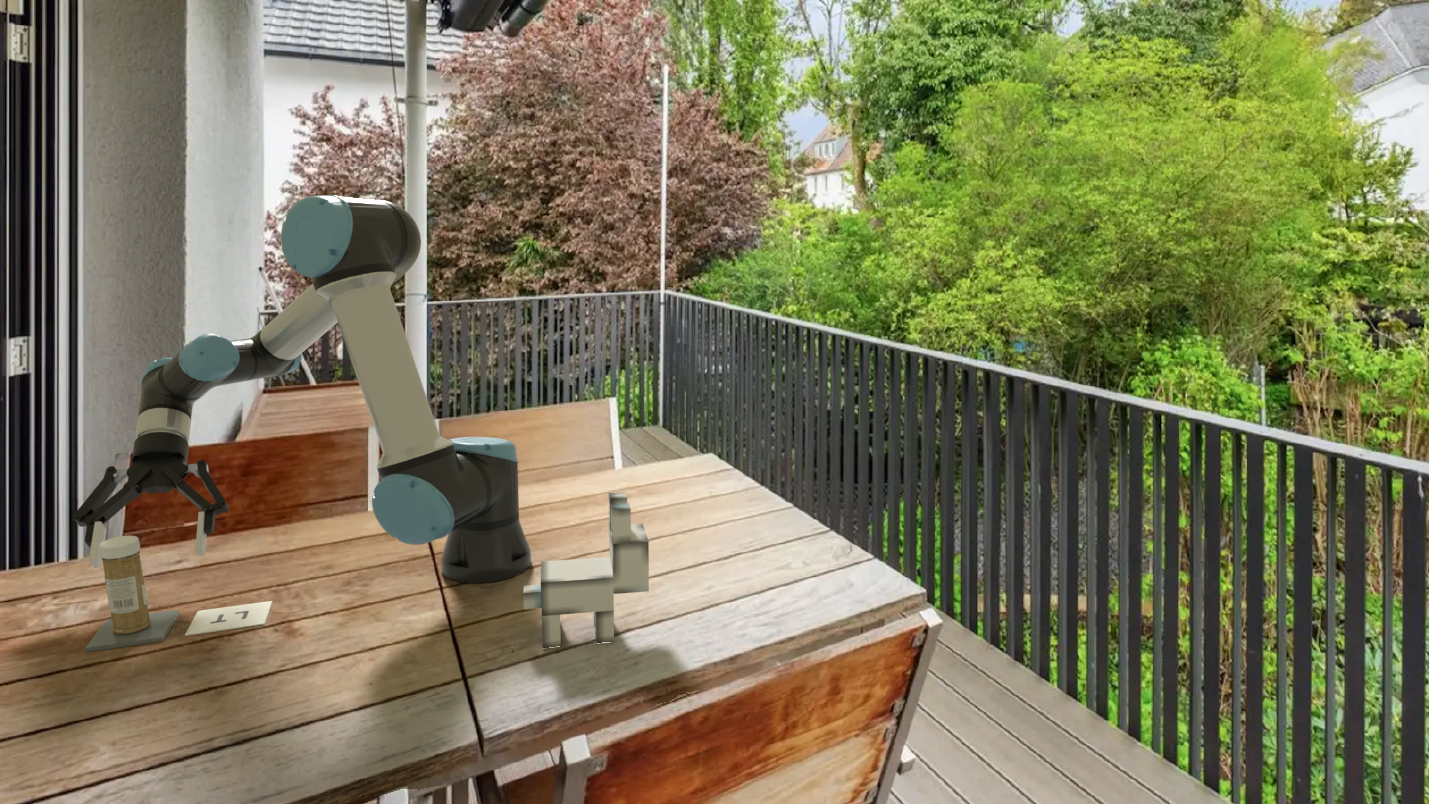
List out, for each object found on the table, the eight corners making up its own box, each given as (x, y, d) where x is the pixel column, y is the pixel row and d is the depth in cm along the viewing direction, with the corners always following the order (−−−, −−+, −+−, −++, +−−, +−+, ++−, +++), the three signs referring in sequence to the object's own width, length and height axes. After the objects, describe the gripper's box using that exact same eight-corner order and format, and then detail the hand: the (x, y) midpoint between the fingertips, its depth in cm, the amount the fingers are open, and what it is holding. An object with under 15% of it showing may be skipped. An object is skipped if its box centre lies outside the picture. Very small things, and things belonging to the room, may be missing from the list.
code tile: (272, 601, 122) (272, 600, 122) (264, 624, 115) (264, 623, 115) (198, 612, 118) (197, 610, 118) (185, 636, 111) (184, 634, 111)
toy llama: (526, 625, 116) (521, 497, 112) (642, 616, 119) (642, 491, 115) (524, 650, 108) (519, 514, 105) (648, 639, 112) (648, 507, 108)
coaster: (179, 613, 118) (179, 609, 118) (163, 640, 110) (162, 636, 110) (107, 623, 115) (107, 619, 114) (85, 652, 106) (84, 648, 106)
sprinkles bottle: (158, 620, 114) (146, 534, 112) (137, 635, 110) (124, 546, 107) (126, 620, 114) (113, 534, 111) (103, 636, 110) (89, 546, 107)
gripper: (251, 447, 138) (246, 557, 128) (79, 459, 129) (57, 579, 118) (243, 424, 132) (236, 537, 122) (62, 435, 123) (38, 559, 112)
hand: (148, 558), depth 120 cm, fingers open, 13 cm apart
